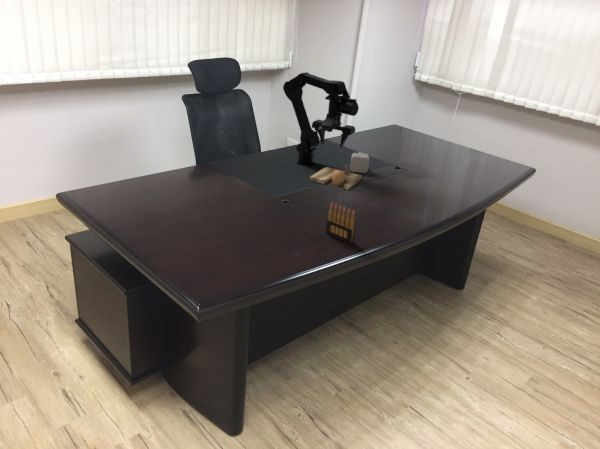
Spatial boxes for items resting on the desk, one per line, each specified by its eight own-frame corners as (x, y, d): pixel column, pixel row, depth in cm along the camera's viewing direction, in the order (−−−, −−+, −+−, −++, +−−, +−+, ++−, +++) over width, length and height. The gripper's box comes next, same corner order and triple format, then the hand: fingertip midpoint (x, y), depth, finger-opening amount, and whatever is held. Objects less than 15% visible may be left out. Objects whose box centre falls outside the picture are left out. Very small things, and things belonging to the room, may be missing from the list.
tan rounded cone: (334, 180, 218) (335, 169, 216) (345, 182, 216) (346, 172, 214) (330, 183, 214) (331, 172, 212) (340, 186, 212) (341, 175, 210)
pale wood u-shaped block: (309, 180, 216) (310, 167, 214) (325, 170, 229) (326, 157, 227) (347, 189, 209) (348, 176, 206) (361, 178, 222) (363, 166, 219)
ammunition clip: (325, 233, 172) (328, 201, 167) (328, 231, 173) (331, 199, 168) (350, 243, 166) (354, 211, 160) (353, 242, 167) (357, 209, 162)
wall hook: (367, 164, 238) (369, 146, 232) (367, 176, 230) (369, 158, 224) (350, 163, 239) (352, 144, 233) (349, 175, 231) (351, 156, 225)
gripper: (307, 111, 214) (304, 146, 220) (347, 118, 206) (343, 154, 213) (318, 106, 223) (316, 140, 229) (357, 113, 215) (353, 148, 222)
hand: (331, 146), depth 223 cm, fingers open, 9 cm apart
